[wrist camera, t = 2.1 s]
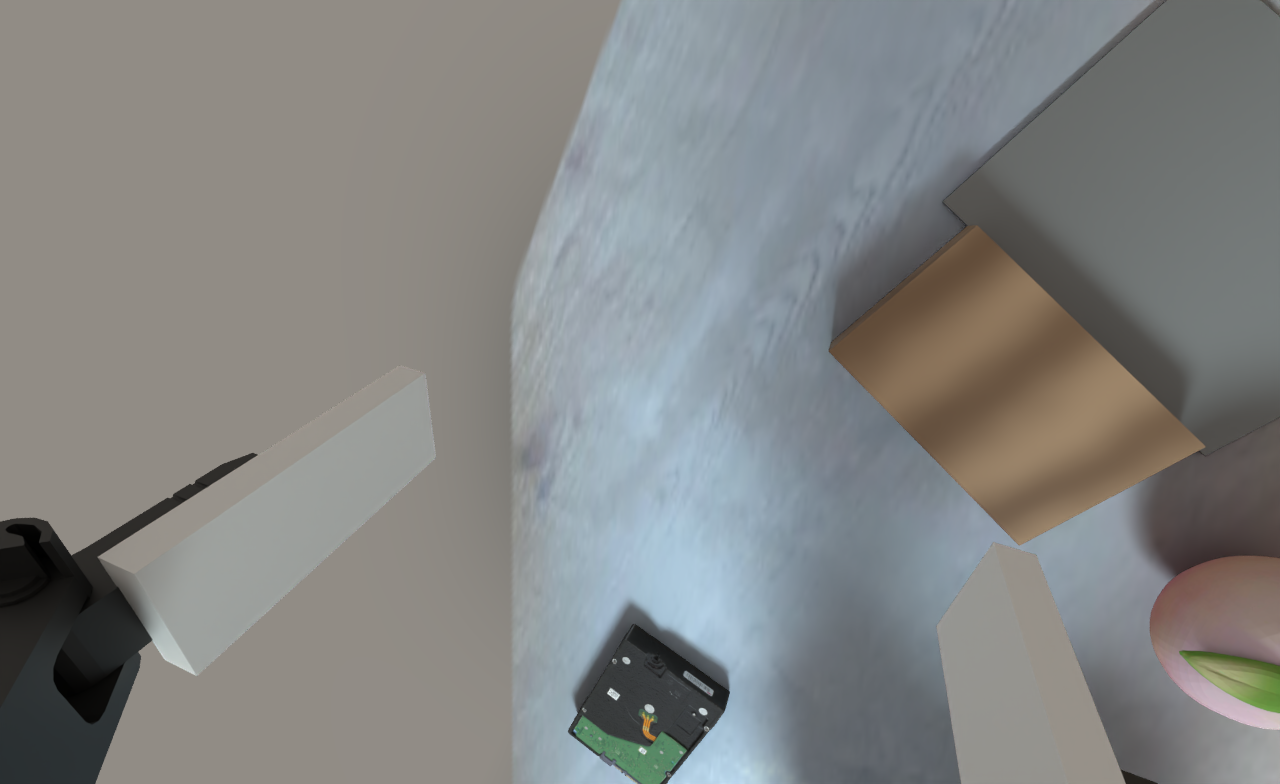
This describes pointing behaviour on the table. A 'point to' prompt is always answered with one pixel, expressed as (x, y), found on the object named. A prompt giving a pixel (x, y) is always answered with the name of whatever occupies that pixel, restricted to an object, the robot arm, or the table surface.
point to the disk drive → (648, 710)
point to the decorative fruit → (1224, 636)
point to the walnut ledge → (1008, 389)
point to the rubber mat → (1160, 210)
